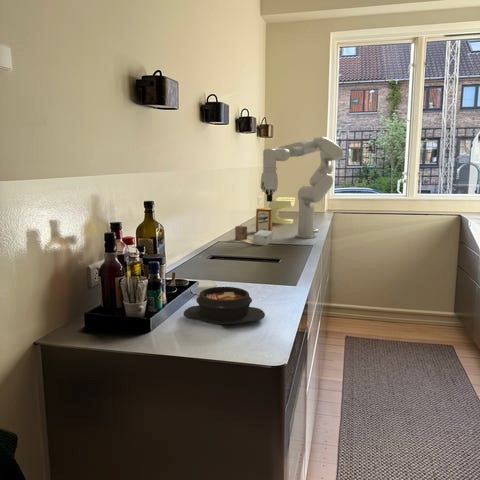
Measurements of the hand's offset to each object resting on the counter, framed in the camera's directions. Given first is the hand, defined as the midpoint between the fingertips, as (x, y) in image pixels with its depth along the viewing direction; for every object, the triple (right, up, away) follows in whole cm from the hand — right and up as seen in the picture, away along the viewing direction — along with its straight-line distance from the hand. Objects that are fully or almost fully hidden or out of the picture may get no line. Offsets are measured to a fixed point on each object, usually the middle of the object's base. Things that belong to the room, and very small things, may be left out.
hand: (269, 201), depth 275 cm
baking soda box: (-2, -18, +31) cm, 36 cm away
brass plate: (-9, -24, -3) cm, 26 cm away
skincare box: (-2, -20, 0) cm, 20 cm away
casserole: (-22, -48, -132) cm, 142 cm away
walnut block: (-17, -23, +3) cm, 28 cm away
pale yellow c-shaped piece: (+15, -10, +79) cm, 81 cm away
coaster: (-31, -42, -104) cm, 116 cm away
